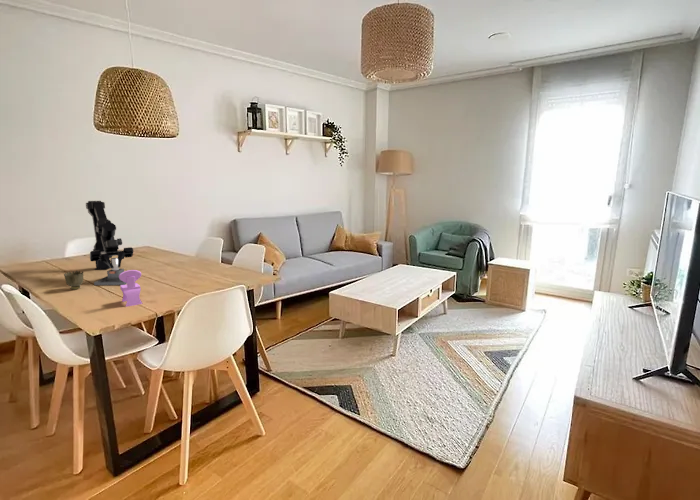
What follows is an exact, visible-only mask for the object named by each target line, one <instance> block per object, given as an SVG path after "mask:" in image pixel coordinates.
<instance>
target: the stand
mask: <svg viewBox="0 0 700 500" xmlns="http://www.w3.org/2000/svg"><path fill="white" fill-rule="evenodd" d="M122 272H125V268H119V271H112V269H111V268H110V269H109V270H107V271H106V274H107V275H106V276H104V277H102V278H101V279H98V280H96V281H94V282H93V284H94V286H120V285H127V283H126V282H123V281H121V280H120V279H119V275H120V274H121V273H122Z"/></svg>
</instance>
